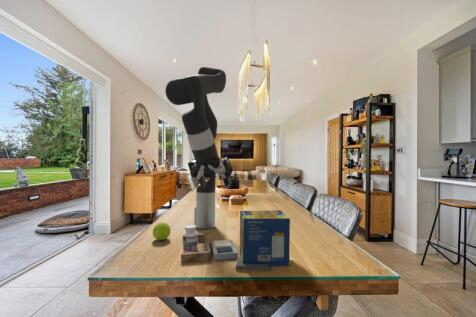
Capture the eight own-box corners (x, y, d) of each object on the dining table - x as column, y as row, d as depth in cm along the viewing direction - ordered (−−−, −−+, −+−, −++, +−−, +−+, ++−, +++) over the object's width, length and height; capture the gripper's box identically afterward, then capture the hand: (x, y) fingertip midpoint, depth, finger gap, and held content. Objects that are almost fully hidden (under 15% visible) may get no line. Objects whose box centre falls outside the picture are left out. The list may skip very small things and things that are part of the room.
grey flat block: (236, 270, 71) (236, 265, 71) (236, 263, 76) (236, 258, 76) (268, 271, 71) (269, 266, 71) (267, 264, 75) (267, 259, 75)
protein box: (239, 253, 83) (239, 210, 83) (281, 252, 85) (281, 210, 84) (242, 267, 73) (242, 218, 73) (290, 266, 74) (290, 217, 74)
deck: (214, 260, 78) (214, 253, 78) (210, 246, 89) (210, 240, 89) (237, 258, 79) (237, 251, 79) (231, 245, 91) (231, 239, 91)
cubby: (180, 262, 76) (181, 254, 76) (182, 241, 95) (182, 234, 95) (210, 260, 78) (211, 252, 78) (206, 239, 97) (206, 233, 97)
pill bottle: (184, 247, 88) (184, 224, 88) (198, 247, 89) (198, 224, 89) (182, 253, 83) (182, 228, 83) (196, 253, 83) (197, 228, 83)
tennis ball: (172, 240, 95) (172, 223, 95) (154, 243, 91) (154, 226, 91) (168, 235, 101) (168, 219, 101) (151, 238, 97) (151, 221, 97)
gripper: (227, 136, 73) (238, 179, 80) (187, 140, 78) (201, 180, 85) (219, 147, 67) (232, 192, 74) (176, 150, 72) (192, 193, 79)
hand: (215, 186), depth 80 cm, fingers open, 8 cm apart
